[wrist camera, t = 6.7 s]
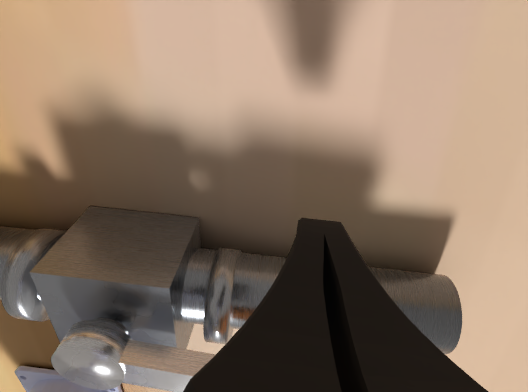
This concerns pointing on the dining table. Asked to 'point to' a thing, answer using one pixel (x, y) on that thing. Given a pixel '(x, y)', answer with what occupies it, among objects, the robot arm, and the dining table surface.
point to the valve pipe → (172, 280)
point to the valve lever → (122, 359)
